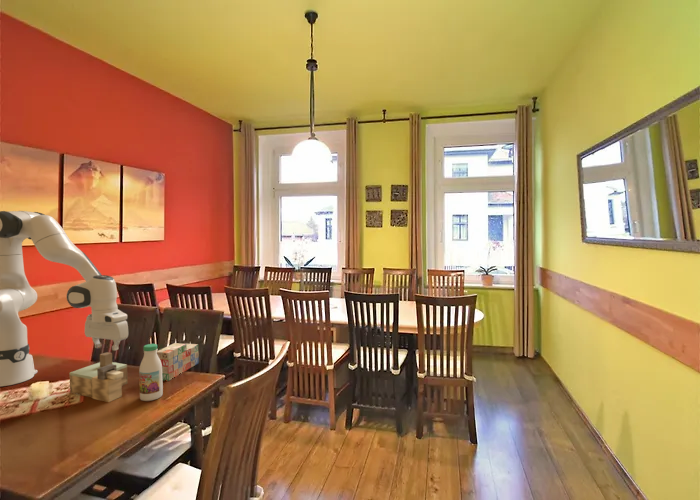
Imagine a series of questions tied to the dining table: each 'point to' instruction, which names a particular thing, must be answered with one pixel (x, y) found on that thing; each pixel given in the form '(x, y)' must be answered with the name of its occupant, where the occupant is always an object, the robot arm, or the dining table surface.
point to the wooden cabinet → (99, 385)
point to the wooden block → (113, 374)
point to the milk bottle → (150, 374)
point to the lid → (92, 369)
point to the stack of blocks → (177, 359)
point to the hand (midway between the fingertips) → (106, 348)
